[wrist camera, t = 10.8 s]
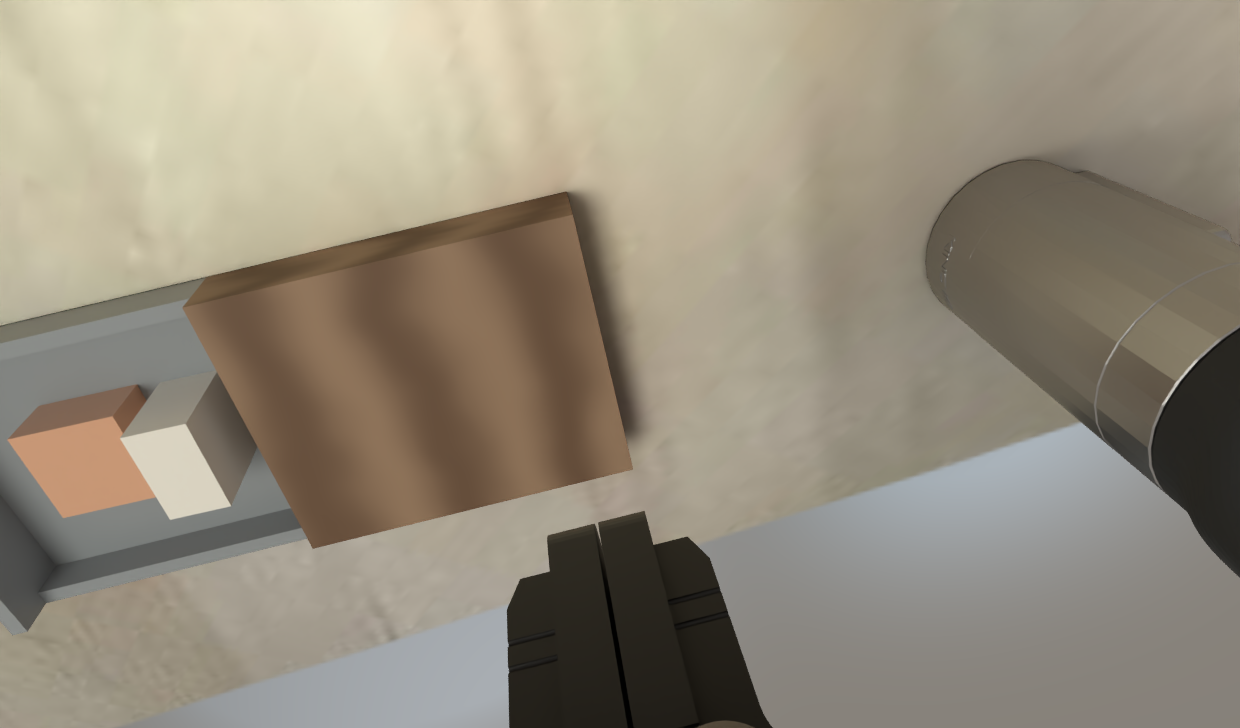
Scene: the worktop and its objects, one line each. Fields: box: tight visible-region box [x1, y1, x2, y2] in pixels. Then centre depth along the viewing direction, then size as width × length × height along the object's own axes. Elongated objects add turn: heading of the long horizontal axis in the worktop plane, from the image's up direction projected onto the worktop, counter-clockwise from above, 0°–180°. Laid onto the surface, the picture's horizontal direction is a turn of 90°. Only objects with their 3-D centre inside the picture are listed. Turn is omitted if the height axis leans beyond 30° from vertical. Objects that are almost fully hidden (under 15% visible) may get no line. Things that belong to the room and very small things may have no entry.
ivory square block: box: [120, 370, 257, 520], centre depth 39 cm, size 5×5×3 cm
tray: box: [0, 277, 307, 635], centre depth 40 cm, size 16×15×4 cm
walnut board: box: [182, 192, 633, 548], centre depth 41 cm, size 18×15×4 cm
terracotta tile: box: [7, 384, 156, 518], centre depth 40 cm, size 5×5×3 cm
